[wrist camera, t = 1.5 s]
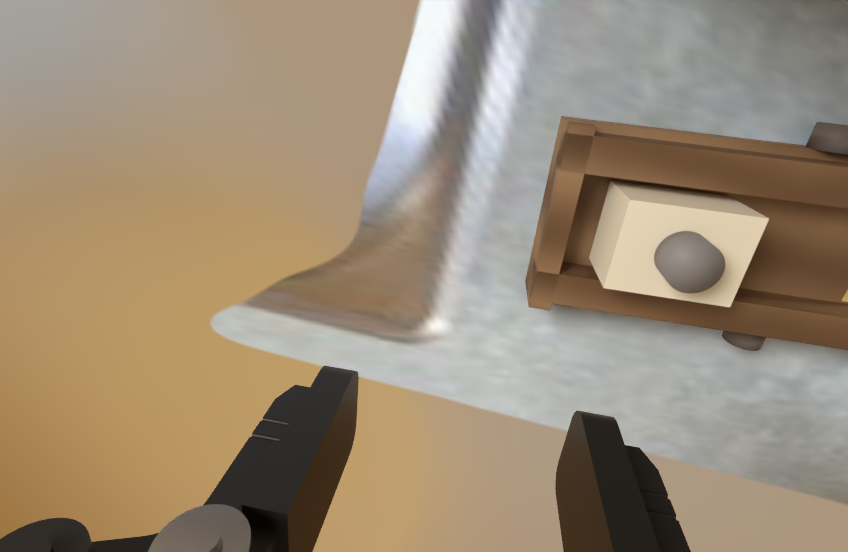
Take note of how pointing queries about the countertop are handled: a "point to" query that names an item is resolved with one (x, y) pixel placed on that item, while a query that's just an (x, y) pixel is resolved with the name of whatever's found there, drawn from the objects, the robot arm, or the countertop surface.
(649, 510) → the robot arm
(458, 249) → the countertop surface
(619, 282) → the rider
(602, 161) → the wooden slider track
